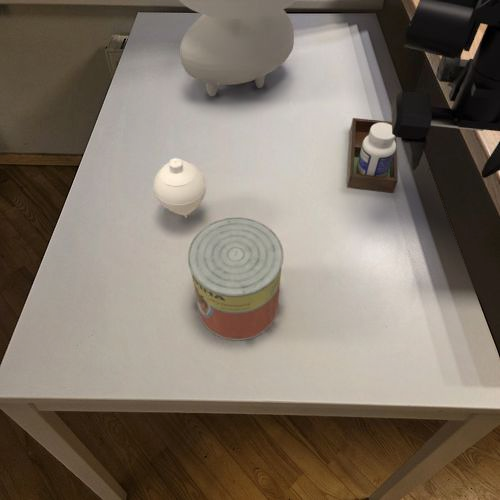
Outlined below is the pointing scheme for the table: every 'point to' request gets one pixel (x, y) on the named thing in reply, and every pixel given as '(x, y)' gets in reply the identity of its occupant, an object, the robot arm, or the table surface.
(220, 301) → the canned food
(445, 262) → the table surface
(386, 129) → the pill bottle
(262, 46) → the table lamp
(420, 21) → the robot arm
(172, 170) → the spinning top
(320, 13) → the table surface
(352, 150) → the holder
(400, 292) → the table surface
